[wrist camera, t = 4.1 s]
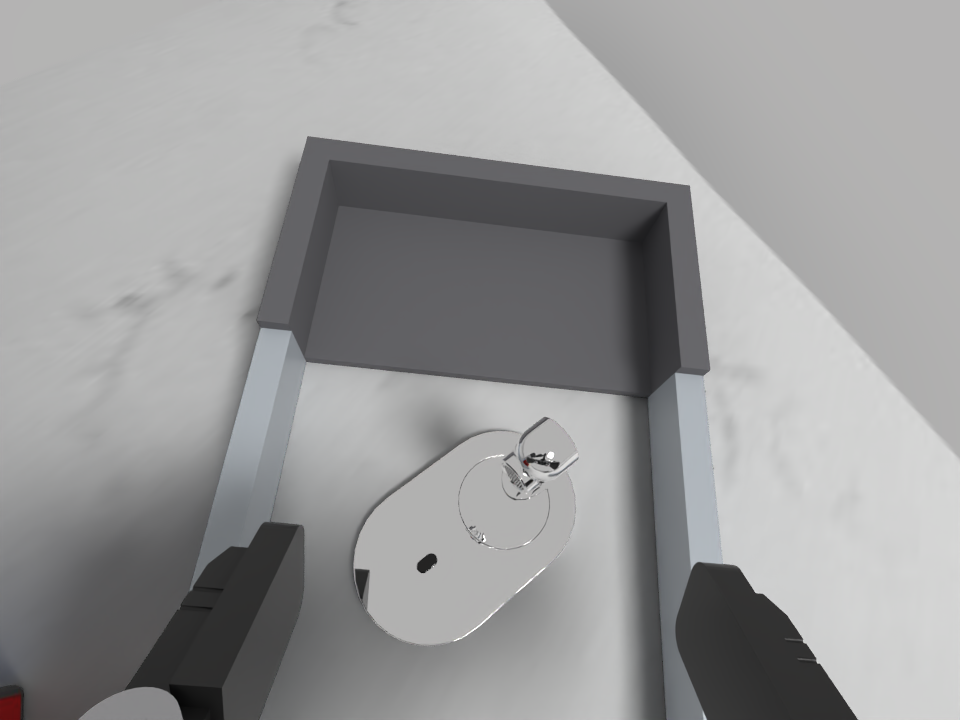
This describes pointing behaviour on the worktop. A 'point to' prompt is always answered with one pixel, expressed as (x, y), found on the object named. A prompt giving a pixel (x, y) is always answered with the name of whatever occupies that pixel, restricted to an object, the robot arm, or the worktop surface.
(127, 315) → the worktop surface
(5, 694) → the puzzle toy
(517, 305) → the dark pocket
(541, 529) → the stand
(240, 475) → the channel
